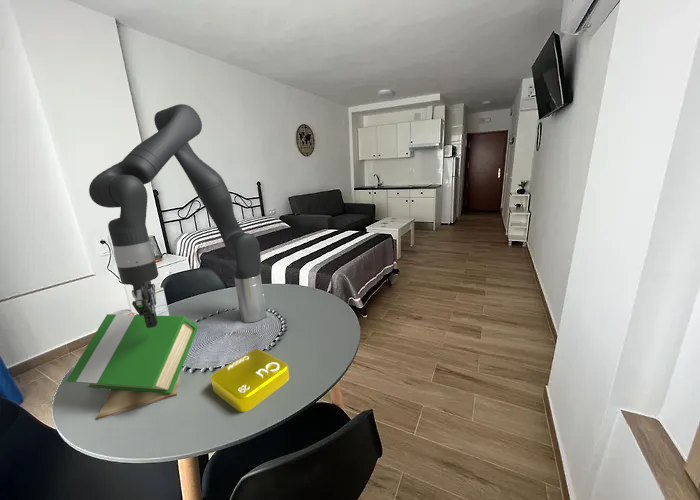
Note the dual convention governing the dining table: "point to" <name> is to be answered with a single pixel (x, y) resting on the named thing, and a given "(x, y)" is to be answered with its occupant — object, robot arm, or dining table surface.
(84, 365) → the hardback book
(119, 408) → the brown flat panel
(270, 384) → the element tile
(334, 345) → the dining table surface
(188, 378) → the dining table surface
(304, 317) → the dining table surface
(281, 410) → the dining table surface
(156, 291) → the syrup box
